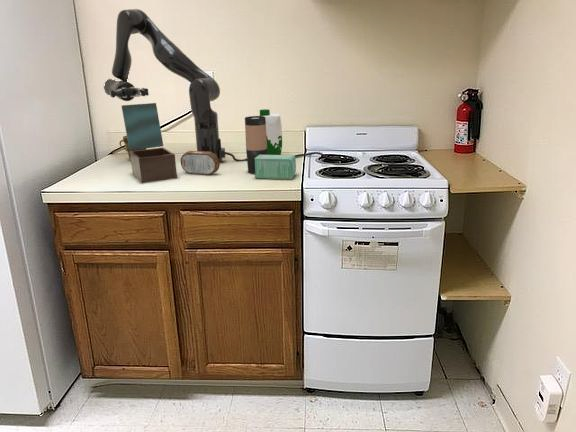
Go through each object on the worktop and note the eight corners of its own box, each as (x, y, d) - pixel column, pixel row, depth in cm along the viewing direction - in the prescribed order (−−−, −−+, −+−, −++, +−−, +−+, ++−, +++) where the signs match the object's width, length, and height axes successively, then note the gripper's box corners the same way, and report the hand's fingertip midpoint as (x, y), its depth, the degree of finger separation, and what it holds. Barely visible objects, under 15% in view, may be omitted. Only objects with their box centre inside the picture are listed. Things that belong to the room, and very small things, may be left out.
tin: (220, 174, 183) (219, 151, 180) (216, 176, 180) (215, 153, 177) (184, 171, 187) (182, 149, 185) (180, 173, 185) (178, 151, 182)
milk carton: (261, 156, 210) (259, 108, 204) (283, 156, 210) (281, 108, 204) (260, 161, 202) (257, 111, 196) (282, 160, 202) (280, 110, 195)
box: (292, 179, 171) (292, 158, 169) (254, 179, 174) (253, 158, 172) (296, 174, 178) (295, 154, 176) (259, 174, 181) (258, 154, 178)
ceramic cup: (140, 156, 219) (137, 133, 216) (154, 158, 213) (152, 135, 210) (114, 161, 209) (111, 138, 206) (129, 164, 203) (126, 140, 200)
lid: (156, 102, 187) (155, 103, 188) (121, 105, 182) (121, 105, 182) (163, 146, 188) (163, 146, 189) (129, 149, 183) (129, 150, 184)
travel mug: (271, 170, 186) (269, 116, 180) (262, 174, 180) (259, 119, 174) (253, 168, 190) (250, 115, 183) (243, 173, 183) (240, 118, 177)
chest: (177, 178, 178) (174, 154, 176) (141, 183, 173) (138, 158, 170) (165, 170, 192) (163, 147, 189) (132, 174, 186) (129, 151, 183)
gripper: (105, 82, 200) (112, 84, 186) (140, 80, 206) (150, 83, 193) (107, 101, 202) (115, 105, 189) (142, 99, 209) (152, 102, 195)
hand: (133, 94), depth 191 cm, fingers open, 8 cm apart
